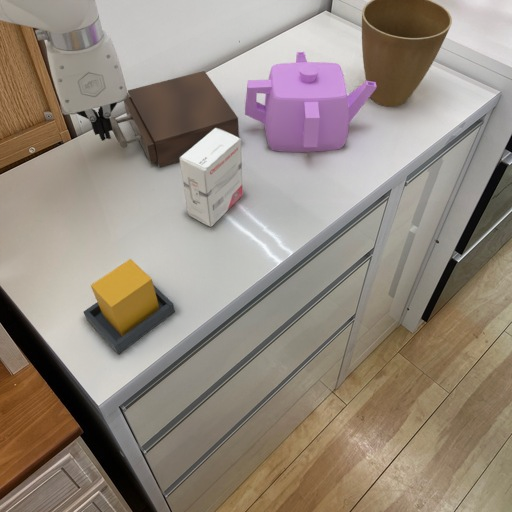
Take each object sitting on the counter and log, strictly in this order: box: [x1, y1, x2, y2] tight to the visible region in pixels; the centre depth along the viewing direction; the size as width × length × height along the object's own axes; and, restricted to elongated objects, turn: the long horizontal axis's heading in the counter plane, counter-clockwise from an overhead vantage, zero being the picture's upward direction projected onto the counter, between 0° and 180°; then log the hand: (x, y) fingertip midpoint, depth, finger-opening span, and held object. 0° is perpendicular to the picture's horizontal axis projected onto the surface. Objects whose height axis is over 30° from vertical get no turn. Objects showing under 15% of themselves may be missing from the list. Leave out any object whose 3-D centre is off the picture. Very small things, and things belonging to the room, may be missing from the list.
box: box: [90, 258, 160, 336], centre depth 68 cm, size 6×4×7 cm
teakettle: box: [244, 51, 377, 153], centre depth 91 cm, size 17×17×12 cm
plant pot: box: [361, 0, 453, 108], centre depth 96 cm, size 15×15×16 cm
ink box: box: [179, 128, 243, 228], centre depth 79 cm, size 9×5×12 cm, turn 145°
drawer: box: [109, 97, 157, 164], centre depth 93 cm, size 17×14×4 cm
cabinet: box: [127, 70, 240, 168], centre depth 94 cm, size 15×16×6 cm
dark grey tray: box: [83, 284, 176, 355], centre depth 70 cm, size 9×7×2 cm
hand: (104, 134), depth 90 cm, fingers closed
